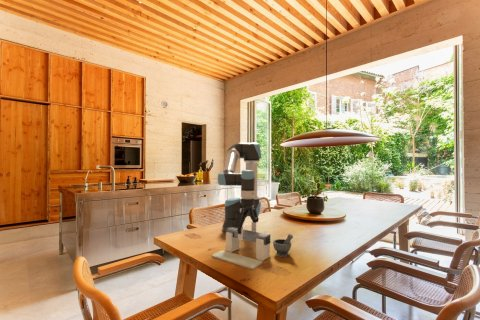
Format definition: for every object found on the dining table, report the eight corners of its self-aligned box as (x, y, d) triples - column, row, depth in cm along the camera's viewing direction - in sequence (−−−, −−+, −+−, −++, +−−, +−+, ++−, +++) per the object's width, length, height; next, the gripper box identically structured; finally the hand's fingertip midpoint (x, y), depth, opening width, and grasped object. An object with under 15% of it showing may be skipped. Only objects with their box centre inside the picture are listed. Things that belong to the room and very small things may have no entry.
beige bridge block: (225, 250, 137) (226, 232, 137) (233, 246, 144) (234, 229, 144) (231, 252, 135) (231, 233, 135) (239, 248, 141) (239, 230, 141)
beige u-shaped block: (256, 259, 126) (256, 238, 126) (263, 254, 132) (263, 235, 132) (262, 260, 124) (262, 240, 124) (269, 256, 130) (269, 236, 130)
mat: (211, 256, 129) (211, 255, 129) (222, 251, 136) (222, 250, 136) (252, 269, 114) (252, 267, 114) (262, 262, 121) (262, 261, 121)
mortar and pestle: (269, 254, 132) (270, 232, 132) (278, 249, 139) (278, 229, 139) (288, 260, 125) (288, 236, 125) (296, 254, 132) (296, 232, 132)
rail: (226, 236, 139) (226, 228, 139) (231, 234, 143) (231, 226, 143) (265, 245, 124) (265, 236, 124) (270, 242, 128) (270, 234, 128)
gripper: (240, 201, 121) (239, 243, 121) (264, 196, 142) (264, 232, 142) (228, 200, 126) (228, 241, 125) (253, 195, 146) (253, 230, 146)
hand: (247, 236), depth 133 cm, fingers open, 13 cm apart
